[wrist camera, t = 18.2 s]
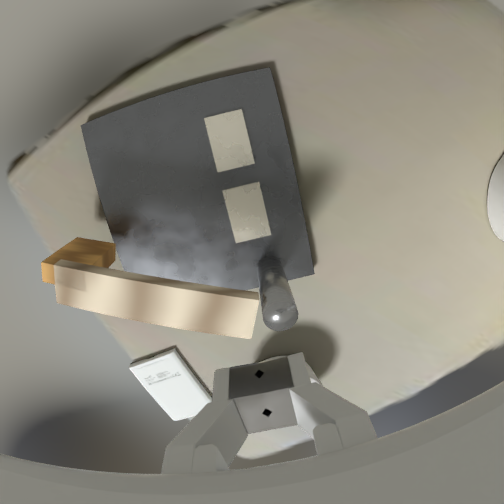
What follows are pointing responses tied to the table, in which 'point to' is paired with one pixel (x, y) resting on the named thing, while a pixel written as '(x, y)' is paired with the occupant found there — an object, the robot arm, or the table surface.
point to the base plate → (205, 189)
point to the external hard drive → (171, 384)
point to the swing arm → (145, 293)
